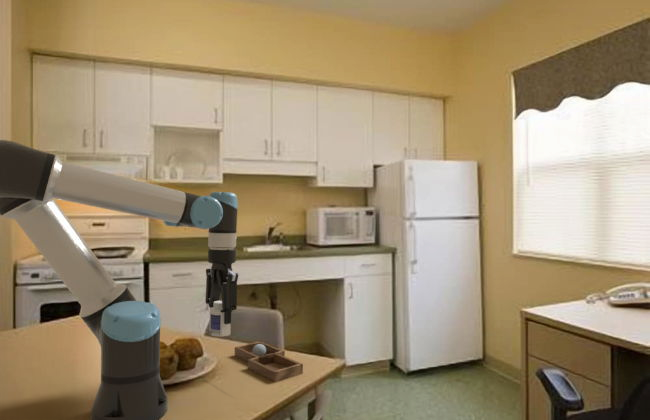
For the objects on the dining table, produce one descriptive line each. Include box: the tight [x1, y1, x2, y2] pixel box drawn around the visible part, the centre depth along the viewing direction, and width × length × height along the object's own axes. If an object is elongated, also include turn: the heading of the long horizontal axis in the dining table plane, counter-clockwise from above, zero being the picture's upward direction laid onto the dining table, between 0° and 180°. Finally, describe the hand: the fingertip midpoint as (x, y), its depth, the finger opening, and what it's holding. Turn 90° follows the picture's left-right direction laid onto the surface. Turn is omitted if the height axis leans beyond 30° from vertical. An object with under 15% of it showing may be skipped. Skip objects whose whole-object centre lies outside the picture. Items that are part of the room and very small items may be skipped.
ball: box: [253, 344, 266, 357], centre depth 130 cm, size 4×4×4 cm
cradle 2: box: [247, 353, 304, 383], centre depth 120 cm, size 9×13×3 cm
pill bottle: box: [209, 300, 223, 337], centre depth 119 cm, size 5×5×9 cm
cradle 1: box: [234, 341, 286, 365], centre depth 130 cm, size 9×13×3 cm
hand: (219, 332), depth 119 cm, fingers closed on pill bottle, 5 cm apart
